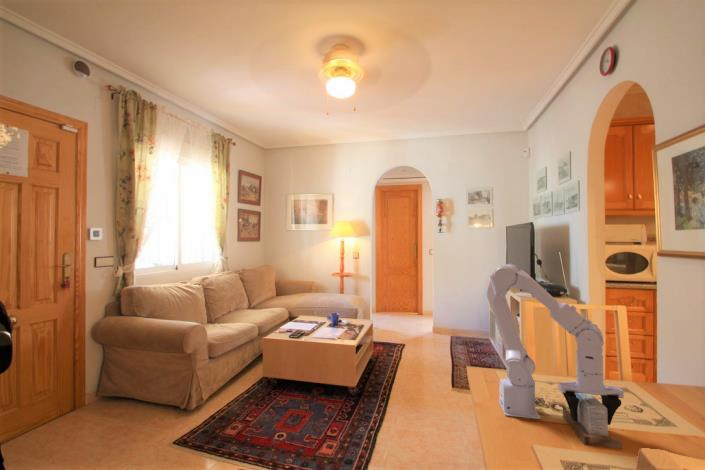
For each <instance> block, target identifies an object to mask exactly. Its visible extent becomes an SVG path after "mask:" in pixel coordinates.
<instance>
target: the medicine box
mask: <svg viewBox="0 0 705 470" xmlns="http://www.w3.org/2000/svg"><path fill="white" fill-rule="evenodd" d="M575 394H576V397H577V398H578V399H579V403H578V410H577V412H578V420H577V423H578V424H579V425H580V426H581V427H582V429H583V430H584V431H585V432H586V434H590V435H598V436H607V437H609V425H608V419H607V408H606V407H605V406H604V405H603V404H602V402H600V401H599V400H598V399H597V398H596V397H595V395H592V394H583V393H575Z"/></svg>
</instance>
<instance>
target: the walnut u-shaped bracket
mask: <svg viewBox="0 0 705 470" xmlns="http://www.w3.org/2000/svg"><path fill="white" fill-rule="evenodd" d="M562 417H563V419H564V421H566V423H567V425H568V426H569V427H570V428H571V429H572V430H573V432H574V433H575V434H576V436H577V437H578V438H579V440H580V441H581V443H582V444H583V445H584V446H585V445H587V446H593V447H594V446H595V447H601V448H602V447H603V448H610V449H618V450H622V449H623V440H621V438H620V437H613V436H608V437H607V436H598V435H590V434H586V432H585V431H584V430H583V429H582V427H581V426H580V425H579V424H578V423H577V421H574V420H573V419H572V417H571V413H570V410H569V409H563V410H562Z"/></svg>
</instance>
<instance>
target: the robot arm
mask: <svg viewBox="0 0 705 470" xmlns="http://www.w3.org/2000/svg"><path fill="white" fill-rule="evenodd" d="M512 287H513V289H517V290H522V291H526V292H527V293H528V294H529V295H531V296H532V297H533V298H534V299H536V300H537V301H539V302H540V303H541V304H542V305H543V306H545V308H547V310H549V311H550V313H549V315H550V317H551V319H553V320H554V321H555V322H556V324H558V325H560V326H561V327H562V328H563V330H565V331H567V333H568V334H570V335H571V336H574V340H575V341H576V343H577V350H576V381H570V382H569V381H568V382H558V383H557V384H558V386H557V388H558V390H559V392H560V393H562V395H563V397H564V399H565V401H566V403H567V407H568V410H569V411H570V413H571V417H572V419H573V420H574V421H577V420H578V412H577V410H578V403H579V399H578V398H577V397H576V394H575V393H583V394H592V395H593V396H600V397H601V403H602V404H603V405H604V406H605V407H606V408H607V419H608V426H610V425H611V423H612V420H613V418H614V415H615V413H616V411H617V410H618V409H619V408H620V406H621V405H622V400H621V399H624V396H625V395H624V390H623V389H622V388H620V387H616V386H609V385H606V384H605V385H604V355H603V346H604V344H605V343H604V342H605V341H604V336H603V332H602V331H601V329H600V328H599V327H598V325H597V324H595V323H593V321H592V320H590V319H587V318H585V317H584V316H583V315H582V314H580V313H579V312H578V311H577V310H576V306H575V305H573V304H571V305H570V304H568V302H560V301H558V300H557V299H556V298H555V297H554V296H552V295H551V294H550V293H549V292H548V291H547V290H546V289H545V288H544V287H543V286H542V285H541V284H539V283H538V282H537V281H536V280H535V279H534V278H533V277H531V275H529V273H527V272H526V271H524V269H521V268H520V267H519V266H518V265H517V264H514V263H507V264H504V265H500V266H497V267H496V268H495V269H494V270H493V272H492V273H491V274H490V276H489V283H488V286H487V290H486V296H487V299H488V303H489V306H490V309H491V311H492V315H493V318H494V320H495V323H496V327H497V329H498V333H499V335H500V338H501V341H502V345H503V347H504V350H505V362H506V375H507V378H500V379H499V385H498V387H499V390H498V391H499V400H498V402H499V405H500V407H501V409H502V411H503V415H505V416H508V417H515V418H516V417H517V418H526V419H533V420H541V416H540V415H539V413H538V411H537V409H536V380H534V377H533V374H534V373H535V370H536V365H535V362H534V360H533V359H532V358H531V357H530V356H529V354H528V351H527V349H525V347H524V346H523V343H522V341H521V338H520V334H519V332H518V329H517V326H516V323H515V320H514V318H513V314H512V311H511V309H510V306H509V303H508V299H507V298H506V295H507V294H508V292H509V291H510V289H511V288H512Z"/></svg>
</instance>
